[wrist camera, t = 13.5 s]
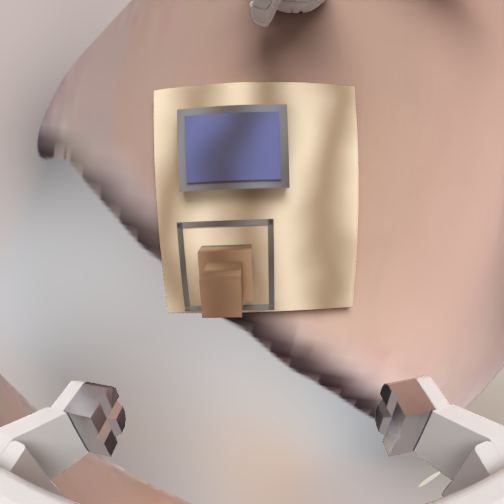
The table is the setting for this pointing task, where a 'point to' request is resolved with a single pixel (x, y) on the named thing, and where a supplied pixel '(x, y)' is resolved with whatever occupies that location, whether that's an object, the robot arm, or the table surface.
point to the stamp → (225, 279)
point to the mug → (278, 8)
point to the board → (259, 189)
